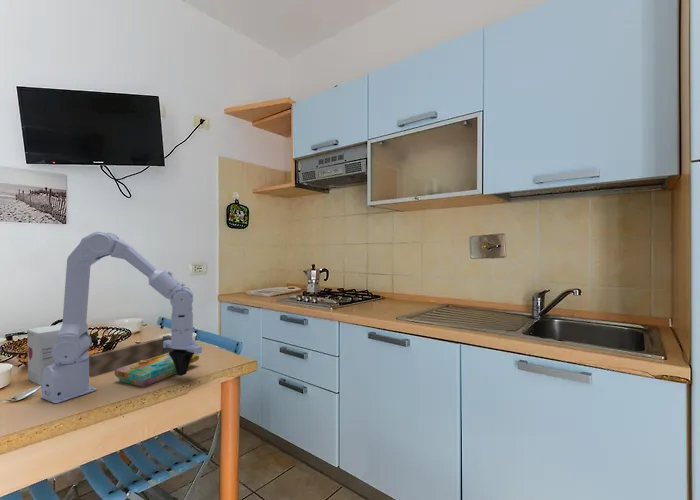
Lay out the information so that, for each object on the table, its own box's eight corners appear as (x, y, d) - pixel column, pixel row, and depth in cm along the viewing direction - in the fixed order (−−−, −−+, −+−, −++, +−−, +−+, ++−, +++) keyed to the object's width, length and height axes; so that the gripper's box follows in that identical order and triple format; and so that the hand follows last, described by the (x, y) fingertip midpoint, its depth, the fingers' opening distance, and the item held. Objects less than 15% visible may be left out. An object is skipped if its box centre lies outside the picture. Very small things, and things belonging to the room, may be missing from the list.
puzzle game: (114, 367, 102) (172, 348, 120) (114, 383, 102) (172, 362, 120) (142, 373, 97) (198, 353, 116) (142, 389, 97) (198, 367, 116)
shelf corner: (110, 382, 102) (110, 358, 102) (88, 375, 107) (88, 352, 107) (185, 358, 124) (185, 338, 124) (164, 353, 129) (164, 334, 129)
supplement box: (26, 379, 103) (26, 328, 103) (63, 370, 111) (63, 323, 111) (39, 386, 99) (39, 333, 99) (76, 376, 107) (76, 326, 106)
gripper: (210, 328, 104) (210, 374, 104) (177, 323, 111) (177, 366, 111) (190, 334, 98) (189, 382, 98) (156, 328, 104) (156, 373, 105)
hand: (181, 374), depth 104 cm, fingers closed
